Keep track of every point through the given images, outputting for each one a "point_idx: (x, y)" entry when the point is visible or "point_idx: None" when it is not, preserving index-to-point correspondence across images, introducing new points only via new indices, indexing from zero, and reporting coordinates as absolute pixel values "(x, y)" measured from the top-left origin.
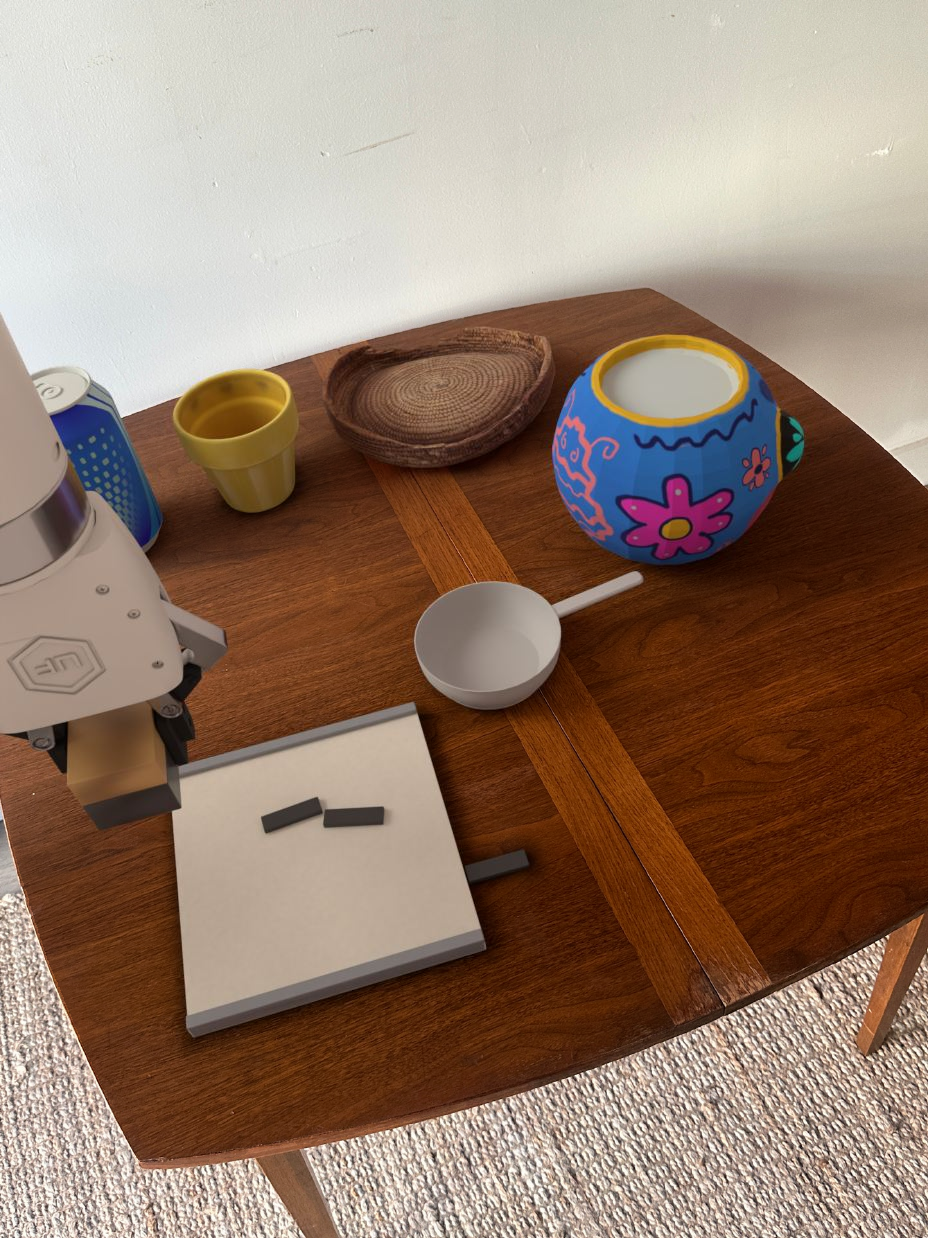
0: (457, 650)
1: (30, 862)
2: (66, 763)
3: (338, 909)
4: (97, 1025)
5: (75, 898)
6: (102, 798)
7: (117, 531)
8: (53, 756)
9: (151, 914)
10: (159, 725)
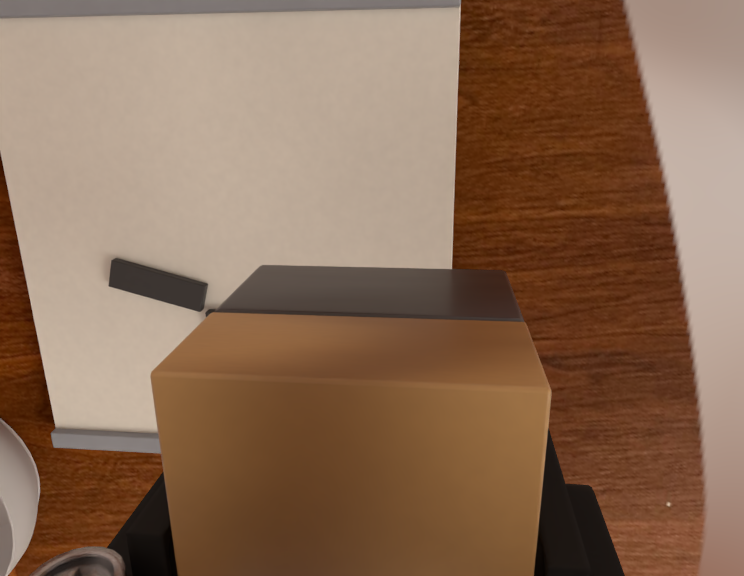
0: (4, 508)
1: (690, 389)
2: (558, 508)
3: (195, 131)
4: (617, 60)
5: (625, 301)
6: (441, 323)
7: None
8: (606, 554)
9: (505, 232)
10: (154, 534)
